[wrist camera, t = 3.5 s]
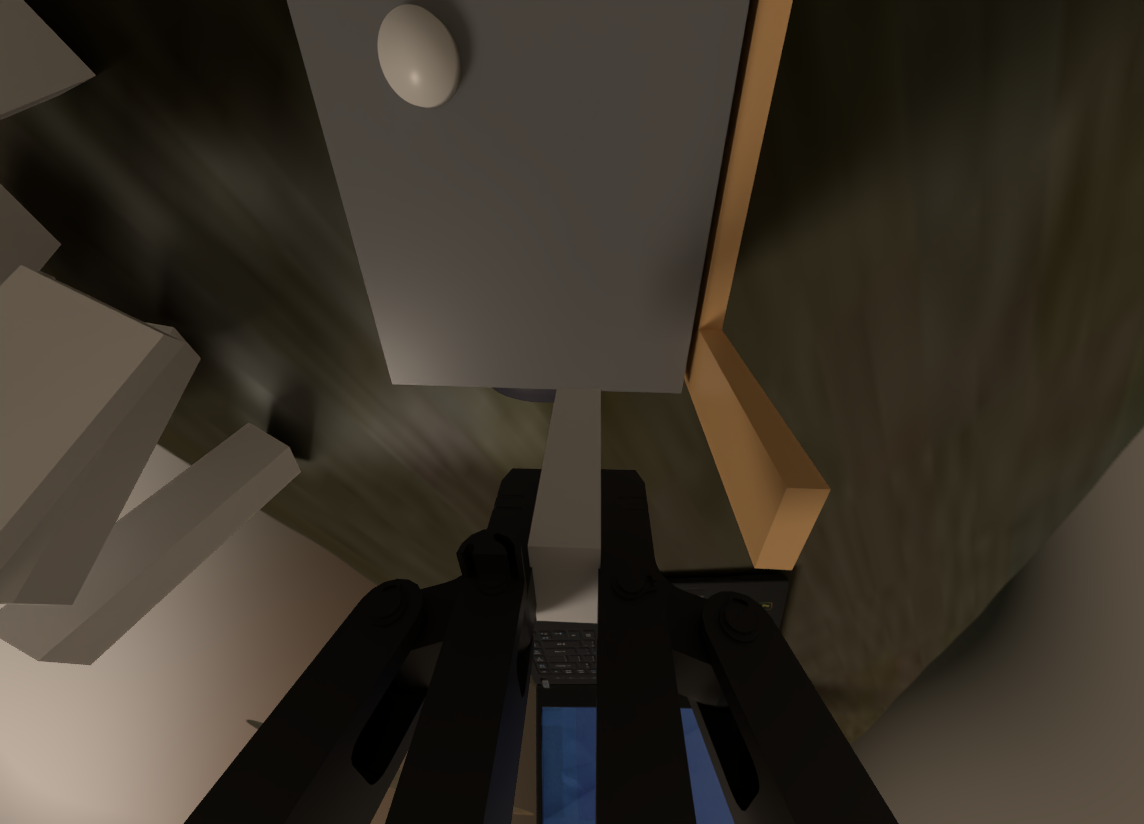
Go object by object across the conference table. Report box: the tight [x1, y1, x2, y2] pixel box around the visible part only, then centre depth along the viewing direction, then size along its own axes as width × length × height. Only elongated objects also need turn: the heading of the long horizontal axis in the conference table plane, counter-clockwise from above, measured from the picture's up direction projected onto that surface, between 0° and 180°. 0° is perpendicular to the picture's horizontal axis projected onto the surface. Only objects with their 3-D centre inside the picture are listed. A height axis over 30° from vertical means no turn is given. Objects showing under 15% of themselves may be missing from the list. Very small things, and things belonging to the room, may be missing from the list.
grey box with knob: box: [287, 0, 750, 402], centre depth 20 cm, size 18×14×13 cm
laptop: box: [531, 573, 789, 824], centre depth 48 cm, size 33×38×19 cm
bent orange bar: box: [684, 0, 831, 570], centre depth 15 cm, size 16×1×21 cm, turn 0°
